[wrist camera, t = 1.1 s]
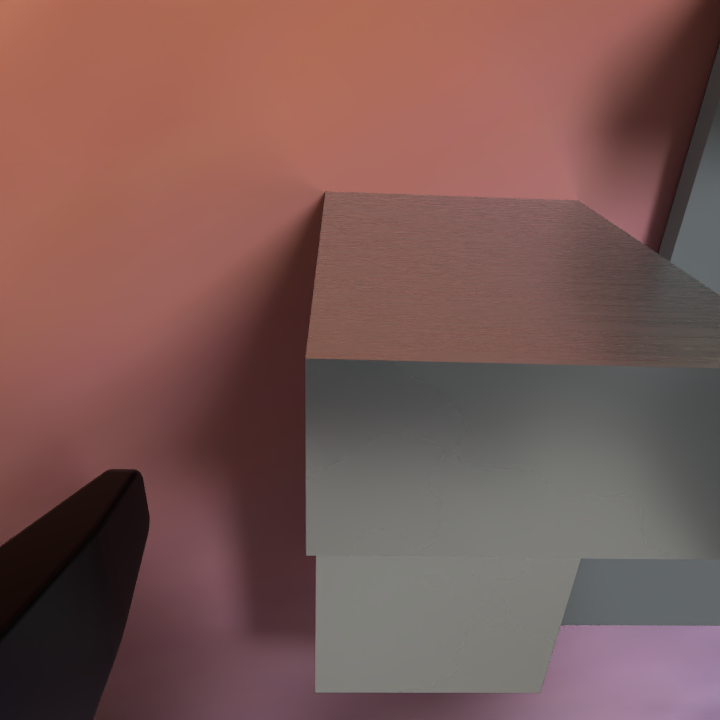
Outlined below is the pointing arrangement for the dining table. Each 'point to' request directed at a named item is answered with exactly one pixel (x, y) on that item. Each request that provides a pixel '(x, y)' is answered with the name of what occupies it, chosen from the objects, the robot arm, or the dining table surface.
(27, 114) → the dining table surface
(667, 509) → the bracket
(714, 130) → the arena pad
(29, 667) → the robot arm
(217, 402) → the dining table surface
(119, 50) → the dining table surface
